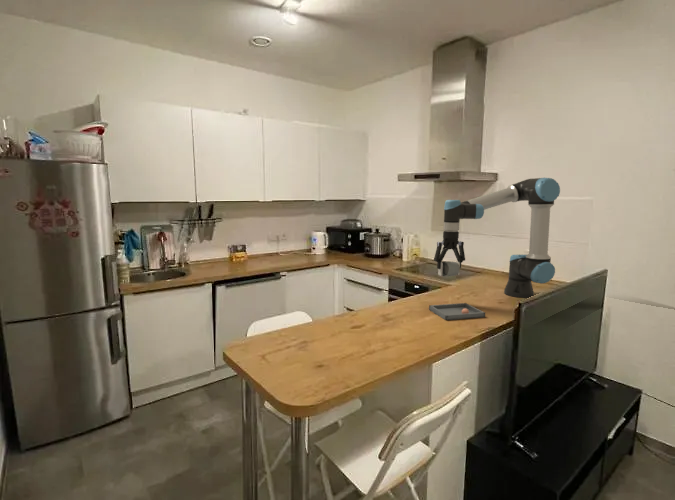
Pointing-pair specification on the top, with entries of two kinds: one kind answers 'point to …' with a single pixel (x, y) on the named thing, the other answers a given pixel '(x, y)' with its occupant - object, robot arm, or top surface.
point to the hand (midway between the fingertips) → (448, 274)
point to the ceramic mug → (450, 268)
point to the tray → (456, 311)
